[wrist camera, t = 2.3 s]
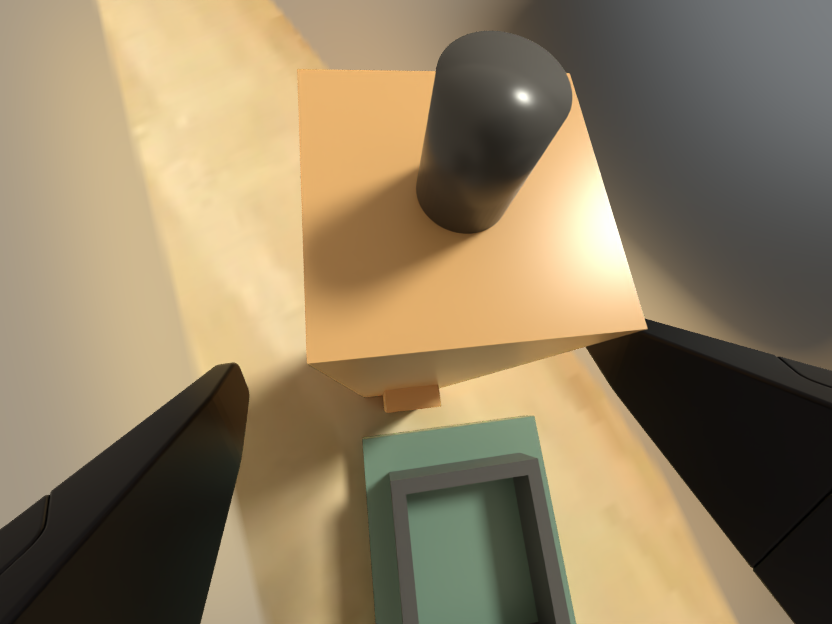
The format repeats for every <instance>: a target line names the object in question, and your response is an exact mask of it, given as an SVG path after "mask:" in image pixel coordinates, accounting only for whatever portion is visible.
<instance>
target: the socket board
mask: <svg viewBox="0 0 832 624" xmlns="http://www.w3.org/2000/svg"><path fill="white" fill-rule="evenodd" d="M363 453H364V467H365V481H366V495H367V509H368V523H369V537H370V551H371V565H372V579H373V593H374V607H375V621H376V624H576V621H575V616H574V611H573V606H572V601H571V596H570V591H569V586H568V581H567V576H566V571H565V566H564V561H563V556H562V551H561V546H560V541H559V536H558V531H557V526H556V521H555V516H554V511H553V506H552V501H551V496H550V491H549V486H548V482H547V477H546V472H545V467H544V462H543V457H542V452H541V447H540V442H539V437H538V432H537V427H536V422H535V417H534V416H519V417H512V418H504V419H497V420H489V421H482V422H475V423H467V424H460V425H452V426H445V427H437V428H430V429H422V430H415V431H408V432H400V433H393V434H385V435H378V436H370V437H363Z"/></svg>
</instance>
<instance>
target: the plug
mask: <svg viewBox="0 0 832 624" xmlns="http://www.w3.org/2000/svg"><path fill="white" fill-rule="evenodd" d="M297 75H298V106H299V136H300V167H301V198H302V228H303V259H304V289H305V320H306V350H307V364H308V365H310V366H312V367H313V368H315V369H317V370H318V371H320V372H322V373H324V374H325V375H327V376H329V377H330V378H332V379H334V380H335V381H337V382H339V383H340V384H342V385H344V386H346V387H347V388H349V389H351V390H352V391H354V392H356V393H357V394H359V395H361V396H362V397H364V398H365V397H373V396H382V395H383V402H384V411H385V412H387V413H391V412H399V411H407V410H415V409H423V408H431V407H439V406H441V401H440V393H439V388H442V387H446V386H449V385H453V384H456V383H460V382H463V381H467V380H470V379H474V378H477V377H481V376H484V375H488V374H491V373H495V372H498V371H502V370H505V369H509V368H512V367H516V366H519V365H523V364H526V363H530V362H533V361H537V360H540V359H544V358H547V357H551V356H555V355H558V354H562V353H565V352H569V351H572V350H576V349H579V348H583V347H586V346H590V345H593V344H597V343H600V342H604V341H607V340H611V339H614V338H618V337H621V336H625V335H628V334H632V333H635V332H639V331H642V330H646V329H648V328H647V325H646V322H645V318H644V315H643V312H642V308H641V306H640V302H639V299H638V296H637V292H636V289H635V286H634V282H633V279H632V276H631V272H630V269H629V266H628V263H627V259H626V256H625V253H624V250H623V246H622V243H621V240H620V237H619V234H618V230H617V227H616V223H615V220H614V217H613V214H612V210H611V207H610V204H609V200H608V197H607V194H606V191H605V188H604V184H603V181H602V178H601V174H600V171H599V168H598V164H597V161H596V158H595V155H594V151H593V148H592V145H591V142H590V138H589V135H588V132H587V129H586V125H585V122H584V119H583V116H582V112H581V109H580V106H579V102H578V99H577V96H576V93H575V89H574V86H573V83H572V79H571V76H570V74H569V73H565V71H564V69H563V68H562V66H561V65H560V64H559V63H558V61H557V60H556V59H555V58H554V57H553V56H552V55H551V54H550V53H549V52H548V51H546V50H545V49H544V48H542V47H541V46H539V45H538V44H536V43H534V42H532V41H530V40H528V39H526V38H523V37H521V36H518V35H515V34H511V33H506V32H500V31H481V32H475V33H471V34H467V35H465V36H462V37H460V38H458V39H457V40H455V41H454V42H452V43H451V44H450V45H449V46H448V47H447V48H446V49H445V50H444V51H443V53H442V54H441V56H440V58H439V60H438V64H437V67H436V71H382V70H379V71H378V70H317V69H297Z"/></svg>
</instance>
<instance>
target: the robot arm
mask: <svg viewBox="0 0 832 624" xmlns="http://www.w3.org/2000/svg"><path fill="white" fill-rule="evenodd" d="M645 322H646V325H647V328H648V329H646V330H642V331H639V332H635V333H632V334H628V335H625V336H621V337H618V338H614V339H611V340H607V341H604V342H600V343H597V344H593V345H590V346H586V348H587V350H588V351H589V353H590V355H591V356H592V358H593V359H594V361H595V363H596V364H597V366H598V367H599V369H600V370H601V372H602V374H603V375H604V377H605V378H606V380H607V381H608V383H609V385H610V386H611V387H612V389H613V390H614V392H615V393H616V394H617V396H618V397H619V398H620V399H621V401H622V402H623V404H624V405H625V406H626V407H627V409H628V410H629V411H630V413H631V414H632V415H633V416H634V418H635V419H636V420H637V421H638V423H639V424H640V425H641V427H642V428H643V429H644V431H645V432H646V433H647V434H648V436H649V437H650V438H651V440H652V441H653V442H654V443H655V444H656V446H657V447H658V448H659V450H660V451H661V452H662V453H663V455H664V456H665V457H666V459H667V460H668V461H669V463H670V464H671V465H672V466H673V468H674V469H675V470H676V472H677V473H678V474H679V475H680V477H681V478H682V479H683V481H684V482H685V483H686V484H687V486H688V487H689V488H690V490H691V491H692V492H693V493H694V495H695V496H696V497H697V498H698V500H699V501H700V502H701V504H702V505H703V506H704V507H705V509H706V510H707V511H708V513H709V514H710V515H711V517H712V518H713V519H714V520H715V522H716V523H717V524H718V525H719V527H720V528H721V529H722V531H723V532H724V533H725V535H726V536H727V537H728V538H729V540H730V541H731V542H732V544H733V545H734V546H735V547H736V549H737V550H738V551H739V553H740V554H741V555H742V556H743V558H744V559H745V560H746V562H747V563H748V564H749V565H750V567H752V568H753V571H754V572H755V574H756V575H757V576H758V578H759V579H760V580H761V581H762V583H763V584H764V585H765V587H766V588H767V589H768V590H769V592H770V593H771V594H772V596H773V597H774V598H775V599H776V601H777V602H778V603H779V605H780V606H781V607H782V608H783V610H784V611H785V612H786V613H787V615H788V616H789V617H790V619H791V620H792V621H793V623H794V624H832V371H830V370H827V369H823V368H819V367H816V366H812V365H808V364H804V363H801V362H797V361H794V360H790V359H786V358H783V357H776V356H775V355H772V354H769V353H765V352H762V351H758V350H755V349H751V348H747V347H744V346H740V345H737V344H733V343H729V342H726V341H723V340H719V339H716V338H712V337H708V336H705V335H701V334H698V333H694V332H690V331H687V330H684V329H680V328H676V327H673V326H669V325H665V324H662V323H659V322H655V321H652V320H648V319H645ZM248 405H249V390H248V387H247V384H246V382H245V379H244V377H243V374H242V372H241V369H240V367H239V365H238V364H237V363H226V364H220V365H216V366H215V367H213V368H212V369H211V370H209V371H208V372H207V373H206V374H204V375H203V376H202V377H200V378H199V379H198V380H196V381H195V382H194V383H192V384H191V385H190V386H188V387H187V388H186V389H185V390H183V391H182V392H181V393H179V394H178V395H177V396H175V397H174V398H173V399H171V400H170V401H169V402H167V403H166V404H165V405H164V406H162V407H161V408H160V409H158V410H157V411H156V412H154V413H153V414H152V415H150V416H149V417H148V418H146V419H145V420H144V421H143V422H141V423H140V424H139V425H137V426H136V427H135V428H133V429H132V430H131V431H129V432H128V433H127V434H126V435H124V436H123V437H121V438H120V439H119V440H118V441H116V442H115V443H114V444H112V445H111V446H110V447H108V448H107V449H106V450H104V451H103V452H102V453H101V454H99V455H98V456H96V457H95V458H94V459H93V460H91V461H90V462H89V463H87V464H86V465H85V466H83V467H82V468H81V469H79V470H78V471H77V472H76V473H74V474H73V475H72V476H70V477H69V478H68V479H66V480H65V481H64V482H62V483H61V484H60V485H58V486H57V487H56V488H55V489H53V490H52V491H51V493H50V495H45V496H44V497H42V498H41V499H40V500H39V501H37V502H36V503H35V504H34V505H32V506H31V507H29V508H28V509H27V510H26V511H24V512H23V513H22V514H20V515H19V516H18V517H16V518H15V519H14V520H12V521H11V522H10V523H9V524H7V525H6V526H4V527H3V528H1V529H0V624H200V623H201V619H202V615H203V611H204V606H205V603H206V599H207V594H208V591H209V587H210V583H211V579H212V575H213V571H214V566H215V563H216V559H217V555H218V551H219V547H220V543H221V539H222V535H223V531H224V527H225V523H226V519H227V515H228V511H229V507H230V503H231V499H232V495H233V491H234V487H235V483H236V479H237V475H238V471H239V467H240V463H241V458H242V452H243V444H244V437H245V429H246V421H247V413H248Z"/></svg>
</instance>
